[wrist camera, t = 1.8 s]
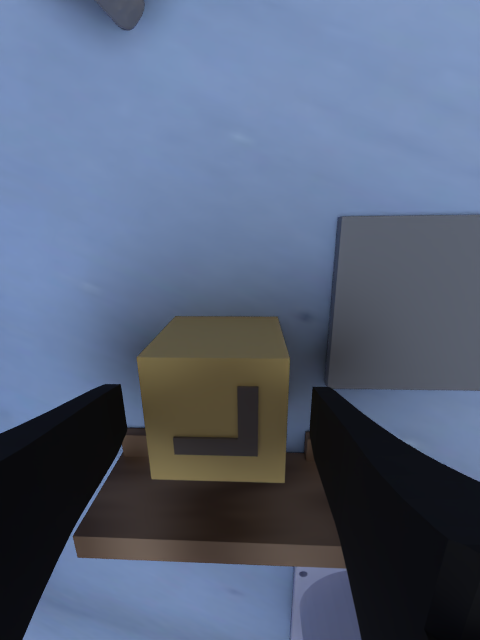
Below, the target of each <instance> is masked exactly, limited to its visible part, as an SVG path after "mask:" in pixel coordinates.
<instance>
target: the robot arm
mask: <svg viewBox="0 0 480 640" xmlns="http://www.w3.org/2000/svg"><path fill="white" fill-rule="evenodd" d="M126 433H127V424H126V417H125V410H124V403H123V396H122V389H121V384H104V385H102V386H99V387H97V388H95V389H92V390H90V391H88V392H86V393H84V394H82V395H80V396H78V397H76V398H74V399H72V400H70V401H68V402H66V403H64V404H62V405H60V406H58V407H57V408H55V409H53V410H51V411H48V412H46V413H44V414H42V415H40V416H38V417H36V418H34V419H32V420H29V421H27V422H25V423H23V424H21V425H19V426H17V427H14V428H12V429H10V430H8V431H5V432H3V433H0V640H22V639H23V637H24V635H25V632H26V630H27V628H28V625H29V623H30V621H31V618H32V616H33V614H34V611H35V609H36V607H37V604H38V602H39V600H40V598H41V596H42V593H43V591H44V589H45V587H46V585H47V583H48V580H49V578H50V576H51V574H52V572H53V569H54V567H55V565H56V563H57V561H58V559H59V557H60V555H61V553H62V551H63V549H64V547H65V545H66V542H67V540H68V538H69V536H70V534H71V532H72V530H73V528H74V527H75V525H76V523H77V521H78V519H79V518H80V516H81V514H82V512H83V511H84V509H85V507H86V506H87V504H88V502H89V501H90V499H91V498H92V496H93V494H94V493H95V491H96V489H97V488H98V486H99V484H100V483H101V481H102V479H103V478H104V476H105V474H106V473H107V471H108V469H109V468H110V466H111V464H112V463H113V461H114V459H115V457H116V456H117V454H118V451H119V449H120V447H121V445H122V442H123V440H124V438H125V435H126ZM309 435H310V440H311V445H312V451H313V455H314V460H315V463H316V467H317V470H318V473H319V476H320V479H321V482H322V485H323V488H324V491H325V494H326V497H327V500H328V504H329V507H330V510H331V513H332V516H333V519H334V522H335V525H336V529H337V532H338V536H339V539H340V544H341V548H342V552H343V557H344V561H345V565H346V569H343V568H318V567H294V582H293V598H292V614H291V630H290V640H480V482H479V481H477V480H474V479H472V478H470V477H468V476H466V475H464V474H462V473H460V472H458V471H456V470H454V469H452V468H450V467H448V466H446V465H444V464H442V463H440V462H438V461H436V460H434V459H432V458H431V457H429V456H427V455H425V454H423V453H422V452H420V451H418V450H417V449H415V448H413V447H412V446H410V445H408V444H406V443H405V442H403V441H402V440H400V439H398V438H397V437H395V436H394V435H392V434H391V433H389V432H388V431H386V430H385V429H384V428H382V427H381V426H379V425H378V424H376V423H375V422H374V421H372V420H371V419H370V418H368V417H367V416H366V415H364V414H363V413H362V412H360V411H359V410H358V409H357V408H355V407H354V406H353V405H352V404H350V403H349V402H348V401H347V400H346V399H344V398H343V397H342V396H341V395H339V394H338V393H337V392H336V391H334V390H333V389H332V388H330V387H313V390H312V404H311V418H310V432H309Z"/></svg>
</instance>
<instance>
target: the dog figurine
mask: <svg viewBox="0 0 480 640" xmlns="http://www.w3.org/2000/svg"><path fill="white" fill-rule="evenodd" d="M95 1H96V2H97V3H98V4H99V5H100V7H101V8H102V9H103V10H104V11H105V12H106V13H107V15H108V16H109V17H110V18H111V19H112V20H113V21H114V22H115V23H116V24H117V25H118V26H119V27H121V28H123V29H126V30H131V29H133V28H134V27H135V26H136V24H137V23H138V21H139V20H140V18H141V16H142V14H143V11H144V6H145V3H144V0H95Z"/></svg>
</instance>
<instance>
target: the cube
mask: <svg viewBox="0 0 480 640" xmlns="http://www.w3.org/2000/svg"><path fill="white" fill-rule="evenodd" d="M137 365H138V373H139V381H140V389H141V397H142V406H143V414H144V422H145V430H146V439H147V447H148V455H149V463H150V471H151V479H160V480H196V481H232V482H268V483H285V461H286V438H287V416H288V393H289V370H290V357H289V354H288V350H287V347H286V344H285V340H284V337H283V334H282V330H281V327H280V324H279V320H278V317H234V316H175V317H174V318H173V319H172V320H171V321H170V323H169V324H168V325H167V326H166V327H165V328H164V329H163V330H162V331H161V332H160V333H159V334H158V335H157V336H156V337H155V338H154V339H153V341H152V342H151V343H150V344H149V345H148V346H147V347H146V348H145V349H144V350H143V351H142V352H141V353H140V354H139V355H138V356H137Z"/></svg>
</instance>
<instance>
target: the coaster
mask: <svg viewBox="0 0 480 640" xmlns="http://www.w3.org/2000/svg"><path fill="white" fill-rule="evenodd" d="M325 385H326V387H330V388H332V389H397V390H470V391H480V215H427V216H349V217H338V226H337V238H336V250H335V262H334V274H333V286H332V298H331V310H330V322H329V334H328V347H327V359H326V371H325Z"/></svg>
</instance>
